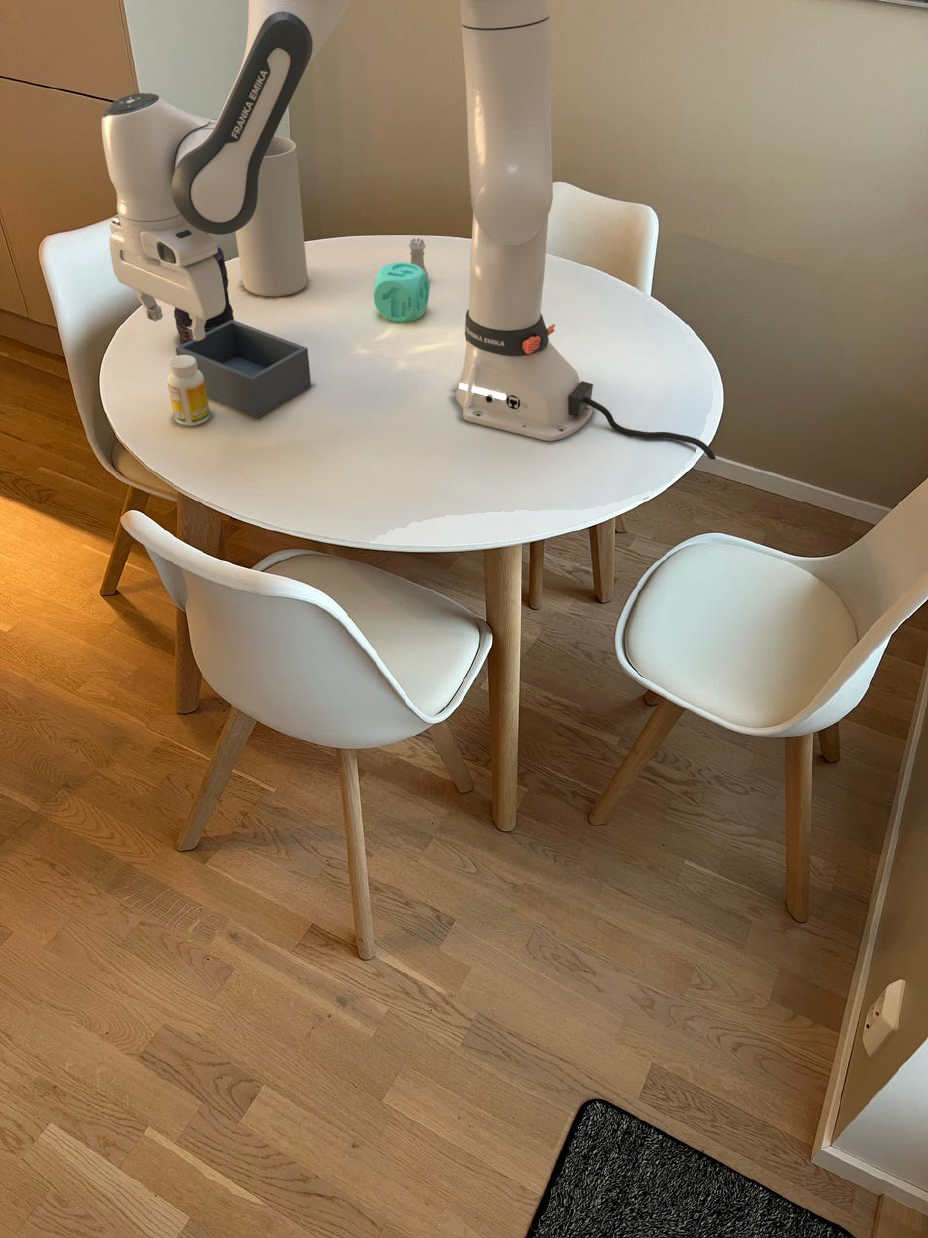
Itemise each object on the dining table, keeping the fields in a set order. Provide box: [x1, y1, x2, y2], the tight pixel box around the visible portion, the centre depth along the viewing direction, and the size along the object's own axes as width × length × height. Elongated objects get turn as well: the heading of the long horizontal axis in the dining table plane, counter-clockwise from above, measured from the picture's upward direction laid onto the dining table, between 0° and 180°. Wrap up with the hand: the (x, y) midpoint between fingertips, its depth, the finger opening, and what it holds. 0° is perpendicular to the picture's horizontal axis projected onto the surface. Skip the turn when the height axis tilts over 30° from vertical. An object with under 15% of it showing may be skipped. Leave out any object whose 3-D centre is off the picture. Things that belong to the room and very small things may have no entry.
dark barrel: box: [173, 246, 235, 345], centre depth 158 cm, size 10×10×15 cm
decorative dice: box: [373, 261, 431, 323], centre depth 170 cm, size 8×8×8 cm
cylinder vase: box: [234, 135, 309, 297], centre depth 172 cm, size 12×12×25 cm
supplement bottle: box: [166, 355, 211, 427], centre depth 141 cm, size 5×5×10 cm
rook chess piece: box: [408, 237, 429, 277], centre depth 180 cm, size 4×4×8 cm
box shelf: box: [174, 319, 312, 419], centre depth 149 cm, size 17×13×7 cm
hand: (176, 328), depth 134 cm, fingers open, 8 cm apart
